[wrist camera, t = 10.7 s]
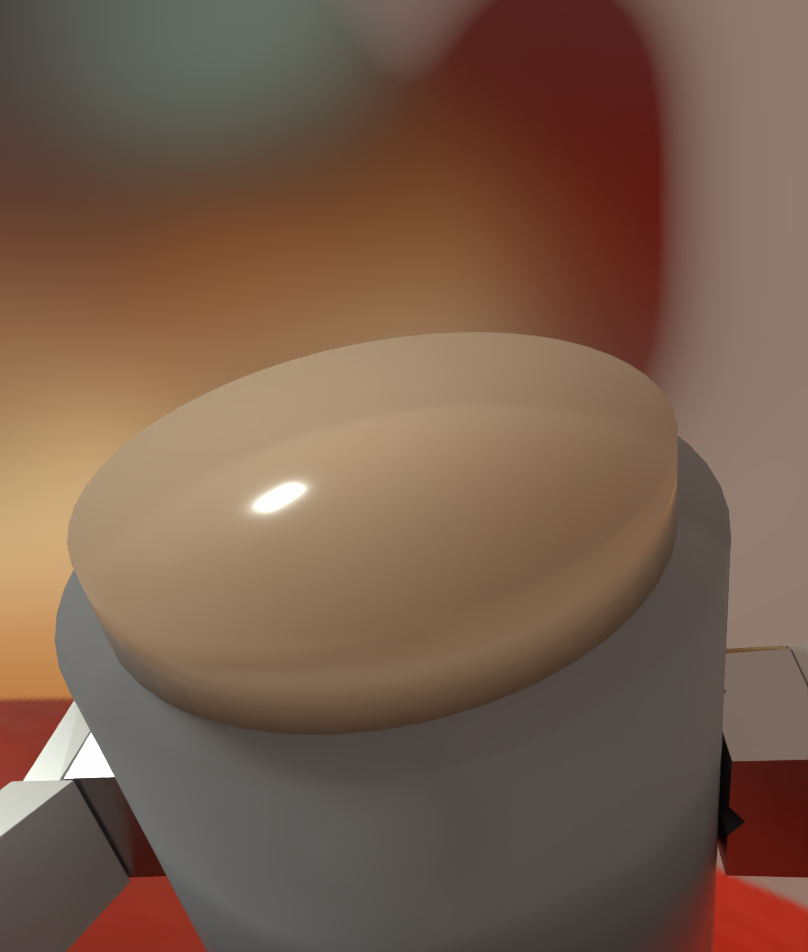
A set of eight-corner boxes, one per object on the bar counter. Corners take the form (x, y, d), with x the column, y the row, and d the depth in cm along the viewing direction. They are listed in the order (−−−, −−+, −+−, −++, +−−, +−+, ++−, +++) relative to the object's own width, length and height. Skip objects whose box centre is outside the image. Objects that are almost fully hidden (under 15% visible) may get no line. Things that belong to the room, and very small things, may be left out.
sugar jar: (234, 1256, 9) (-174, 712, 5) (330, 814, 14) (176, 355, 10) (766, 1304, 8) (877, 664, 4) (663, 809, 13) (658, 292, 9)
